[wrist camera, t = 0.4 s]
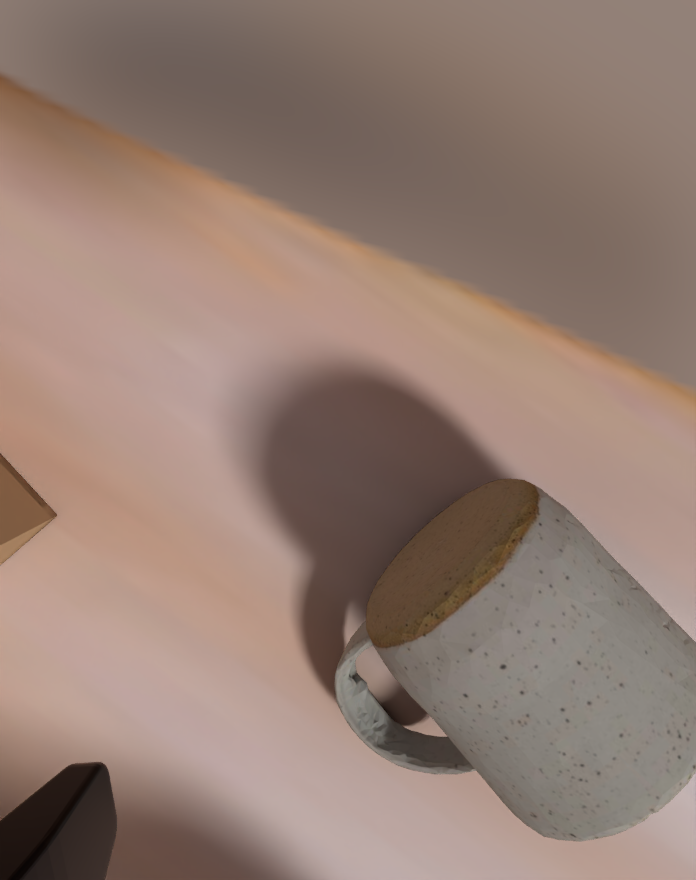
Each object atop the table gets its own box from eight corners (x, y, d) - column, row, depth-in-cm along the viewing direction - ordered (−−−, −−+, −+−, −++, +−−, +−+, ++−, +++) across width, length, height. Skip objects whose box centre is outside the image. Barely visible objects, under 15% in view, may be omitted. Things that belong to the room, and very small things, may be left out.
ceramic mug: (495, 444, 22) (568, 489, 15) (646, 603, 23) (790, 726, 15) (284, 640, 23) (249, 777, 16) (434, 787, 24) (471, 986, 16)
